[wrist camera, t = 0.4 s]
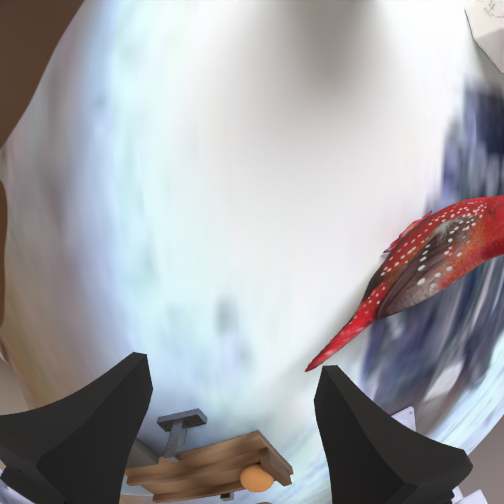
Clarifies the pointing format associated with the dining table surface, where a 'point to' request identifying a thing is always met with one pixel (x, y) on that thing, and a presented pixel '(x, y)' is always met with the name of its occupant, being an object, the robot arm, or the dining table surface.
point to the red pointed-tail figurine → (427, 262)
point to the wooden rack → (204, 468)
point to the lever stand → (182, 435)
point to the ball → (256, 478)
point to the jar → (488, 28)
